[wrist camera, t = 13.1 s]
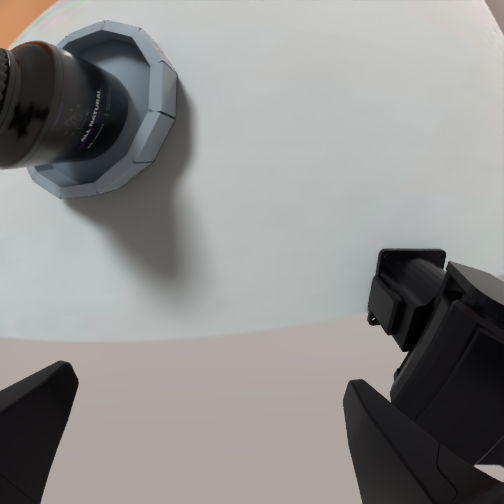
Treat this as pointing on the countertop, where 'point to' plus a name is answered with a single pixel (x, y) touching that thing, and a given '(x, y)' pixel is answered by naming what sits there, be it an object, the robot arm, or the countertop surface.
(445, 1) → the countertop surface
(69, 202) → the countertop surface
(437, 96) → the countertop surface
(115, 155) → the bowl
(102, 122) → the supplement bottle
